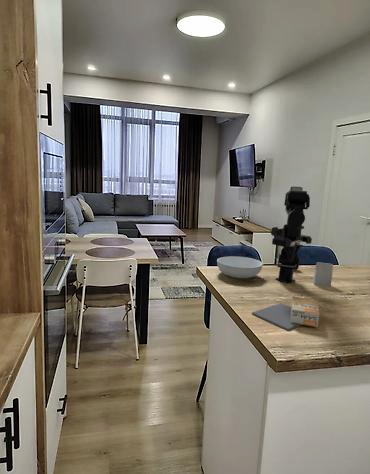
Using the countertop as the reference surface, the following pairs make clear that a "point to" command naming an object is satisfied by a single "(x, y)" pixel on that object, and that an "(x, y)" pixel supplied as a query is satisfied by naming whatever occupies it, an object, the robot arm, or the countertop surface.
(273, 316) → the mat
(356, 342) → the countertop surface
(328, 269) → the grey angular block
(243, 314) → the countertop surface
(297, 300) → the supplement box
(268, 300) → the countertop surface
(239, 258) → the serving bowl
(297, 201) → the robot arm
